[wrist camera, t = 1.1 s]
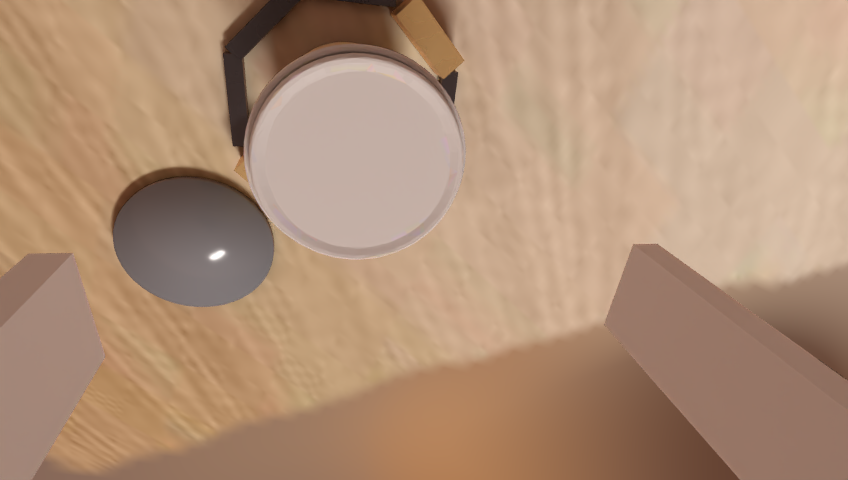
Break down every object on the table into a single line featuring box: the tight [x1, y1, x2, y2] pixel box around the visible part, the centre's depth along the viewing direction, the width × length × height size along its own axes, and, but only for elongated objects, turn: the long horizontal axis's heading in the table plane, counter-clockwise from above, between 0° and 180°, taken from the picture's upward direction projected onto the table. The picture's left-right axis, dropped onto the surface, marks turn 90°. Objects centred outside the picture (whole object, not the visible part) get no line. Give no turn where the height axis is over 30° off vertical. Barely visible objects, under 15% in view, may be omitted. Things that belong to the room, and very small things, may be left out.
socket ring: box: [223, 0, 464, 182], centre depth 27 cm, size 14×14×2 cm
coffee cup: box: [244, 42, 466, 259], centre depth 23 cm, size 9×9×12 cm
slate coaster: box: [113, 176, 274, 307], centre depth 30 cm, size 10×10×1 cm
